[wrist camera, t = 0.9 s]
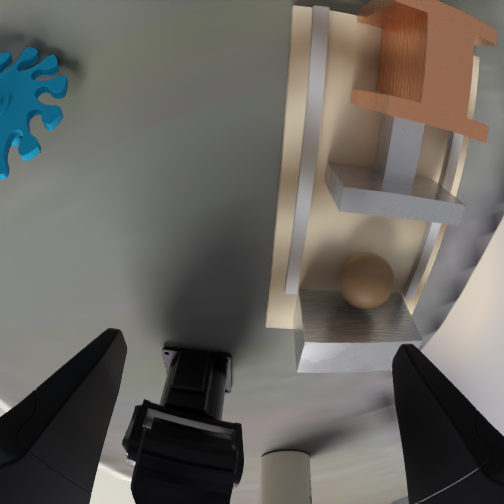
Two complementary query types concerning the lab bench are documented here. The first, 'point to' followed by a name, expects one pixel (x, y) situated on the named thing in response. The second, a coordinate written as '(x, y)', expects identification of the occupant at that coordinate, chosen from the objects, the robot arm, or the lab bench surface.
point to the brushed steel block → (349, 333)
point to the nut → (366, 280)
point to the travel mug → (285, 478)
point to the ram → (413, 108)
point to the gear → (26, 102)
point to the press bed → (345, 153)
